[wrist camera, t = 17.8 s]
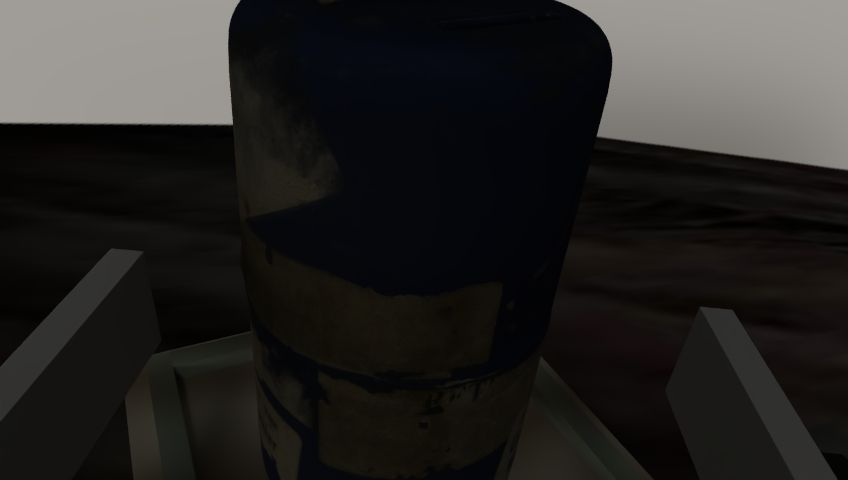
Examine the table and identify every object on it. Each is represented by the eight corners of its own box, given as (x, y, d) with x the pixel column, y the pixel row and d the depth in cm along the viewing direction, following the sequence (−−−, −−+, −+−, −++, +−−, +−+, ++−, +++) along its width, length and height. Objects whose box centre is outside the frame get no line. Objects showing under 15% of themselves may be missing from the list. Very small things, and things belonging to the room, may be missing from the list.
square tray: (125, 378, 27) (117, 348, 26) (468, 293, 34) (472, 267, 33) (185, 915, 13) (174, 894, 12) (724, 583, 21) (742, 554, 20)
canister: (235, 405, 25) (175, -86, 15) (434, 344, 29) (484, -71, 19) (313, 631, 18) (292, -16, 8) (560, 507, 22) (735, -16, 12)
